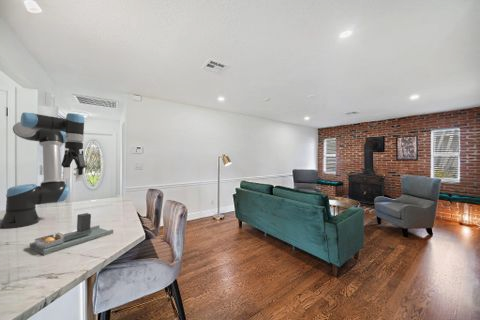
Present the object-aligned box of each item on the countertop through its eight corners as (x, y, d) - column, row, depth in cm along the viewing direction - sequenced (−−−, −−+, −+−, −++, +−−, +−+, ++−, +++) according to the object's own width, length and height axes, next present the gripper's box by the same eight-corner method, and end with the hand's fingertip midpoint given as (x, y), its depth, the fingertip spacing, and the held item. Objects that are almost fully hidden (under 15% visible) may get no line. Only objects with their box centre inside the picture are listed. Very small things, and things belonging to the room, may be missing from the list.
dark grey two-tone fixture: (54, 241, 88) (56, 218, 89) (87, 232, 100) (88, 212, 101) (60, 244, 86) (61, 220, 86) (92, 234, 98) (93, 213, 98)
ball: (53, 235, 87) (52, 243, 87) (41, 238, 84) (40, 247, 84) (57, 237, 86) (56, 245, 86) (45, 239, 82) (44, 249, 82)
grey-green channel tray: (29, 247, 84) (29, 243, 84) (98, 228, 109) (98, 225, 109) (43, 255, 78) (44, 250, 78) (113, 233, 103) (113, 229, 103)
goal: (34, 247, 84) (34, 238, 84) (52, 242, 89) (52, 234, 90) (44, 253, 80) (45, 243, 80) (62, 247, 85) (63, 238, 85)
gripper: (54, 141, 106) (52, 178, 106) (78, 140, 96) (76, 182, 95) (71, 142, 113) (69, 177, 113) (94, 142, 102) (93, 181, 102)
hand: (72, 179), depth 104 cm, fingers open, 13 cm apart
